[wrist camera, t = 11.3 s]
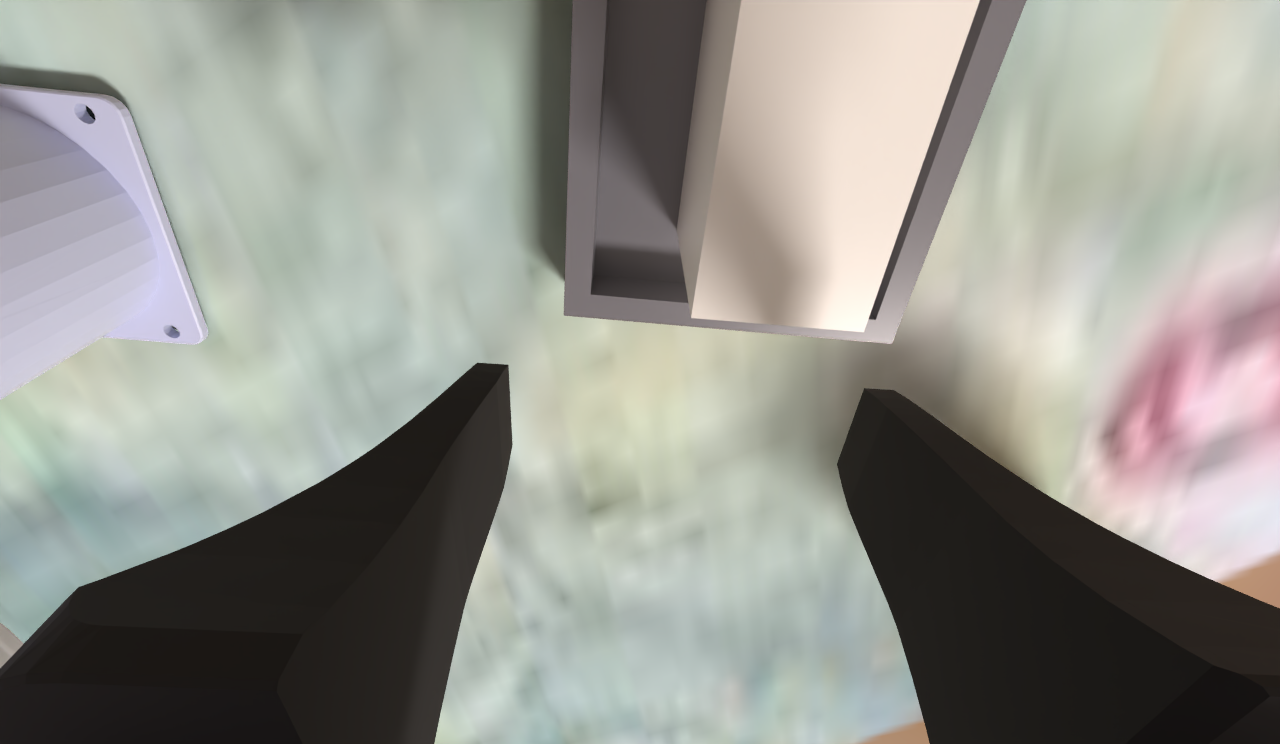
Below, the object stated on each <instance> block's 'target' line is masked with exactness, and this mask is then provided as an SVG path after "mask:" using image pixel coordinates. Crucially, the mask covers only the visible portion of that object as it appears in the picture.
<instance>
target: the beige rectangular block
mask: <svg viewBox="0 0 1280 744" xmlns="http://www.w3.org/2000/svg"><path fill="white" fill-rule="evenodd" d="M979 1H980V0H707V2H706V9H705V17H704V24H703V32H702V40H701V47H700V55H699V63H698V70H697V78H696V86H695V93H694V101H693V109H692V116H691V124H690V132H689V139H688V147H687V154H686V162H685V170H684V177H683V185H682V193H681V200H680V208H679V216H678V223H677V235H678V241H679V247H680V253H681V260H682V266H683V272H684V278H685V284H686V290H687V297H688V303H689V309H690V315H691V318H697V319H709V320H722V321H734V322H746V323H758V324H770V325H782V326H794V327H806V328H818V329H830V330H842V331H854V332H864V330H865V328H866V325H867V322H868V319H869V316H870V313H871V310H872V308H873V305H874V302H875V299H876V296H877V293H878V290H879V287H880V285H881V282H882V279H883V276H884V273H885V270H886V267H887V265H888V262H889V259H890V256H891V253H892V250H893V247H894V245H895V242H896V239H897V236H898V233H899V230H900V227H901V225H902V222H903V219H904V216H905V213H906V210H907V207H908V205H909V202H910V199H911V196H912V193H913V190H914V187H915V184H916V182H917V179H918V176H919V173H920V170H921V167H922V164H923V162H924V159H925V156H926V153H927V150H928V147H929V144H930V142H931V139H932V136H933V133H934V130H935V127H936V124H937V122H938V119H939V116H940V113H941V110H942V107H943V104H944V101H945V99H946V96H947V93H948V90H949V87H950V84H951V81H952V79H953V76H954V73H955V70H956V67H957V64H958V61H959V59H960V56H961V53H962V50H963V47H964V44H965V41H966V39H967V36H968V33H969V30H970V27H971V24H972V21H973V18H974V16H975V13H976V10H977V7H978V4H979Z"/></svg>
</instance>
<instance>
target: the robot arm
mask: <svg viewBox="0 0 1280 744" xmlns="http://www.w3.org/2000/svg"><path fill="white" fill-rule="evenodd" d="M86 106H88V107H89V108H90V109H91V110H92V111H93V113H94V114H95V120H94V119H93V118H92V117H90V116H89V114H88V112H87V111H86ZM172 326H174V327H175V328H177V329H178V331H179V332H178V331H176V330H175V329H174V328H173V327H172ZM207 336H208V328H207V326H206V323H205V320H204V317H203V314H202V312H201V309H200V306H199V303H198V300H197V298H196V295H195V292H194V289H193V287H192V284H191V281H190V278H189V275H188V273H187V270H186V267H185V264H184V261H183V259H182V256H181V253H180V250H179V247H178V245H177V242H176V239H175V236H174V233H173V231H172V228H171V225H170V222H169V220H168V217H167V214H166V211H165V208H164V206H163V203H162V200H161V197H160V194H159V192H158V189H157V186H156V183H155V180H154V178H153V175H152V172H151V169H150V167H149V164H148V161H147V158H146V155H145V153H144V150H143V147H142V144H141V141H140V139H139V136H138V133H137V130H136V127H135V125H134V122H133V119H132V116H131V114H130V112H129V111H128V109H127V107H126V106H125V105H124V104H123V103H122V102H121V101H119V100H118V99H116V98H115V97H112V96H109V95H105V94H95V93H85V92H76V91H66V90H56V89H47V88H37V87H27V86H17V85H8V84H0V400H1V399H2V398H4V397H6V396H7V395H9V394H11V393H12V392H14V391H15V390H17V389H19V388H20V387H22V386H24V385H25V384H27V383H28V382H30V381H32V380H33V379H35V378H37V377H38V376H40V375H41V374H43V373H45V372H46V371H48V370H50V369H51V368H53V367H54V366H56V365H58V364H59V363H61V362H62V361H64V360H66V359H67V358H69V357H71V356H72V355H74V354H75V353H77V352H79V351H80V350H82V349H84V348H85V347H87V346H88V345H90V344H92V343H93V342H95V341H97V340H98V339H100V338H101V337H106V338H118V339H131V340H143V341H155V342H167V343H180V344H198V343H200V342H202V341H203V340H204V339H206V338H207ZM511 449H512V428H511V409H510V389H509V370H508V365H502V364H487V363H477V364H475V365H474V366H473V367H472V368H471V369H469V370H468V371H467V372H466V373H465V374H464V375H462V376H461V377H460V378H459V379H458V380H457V381H456V382H455V383H453V384H452V385H451V386H450V387H449V388H448V389H447V390H446V391H444V392H443V393H442V394H441V395H440V396H439V397H438V398H436V399H435V400H434V401H433V402H432V403H431V404H429V405H428V406H427V407H426V408H425V409H423V410H422V411H421V412H420V413H419V414H417V415H416V416H415V417H414V418H413V419H411V420H410V421H409V422H408V423H406V424H405V425H404V426H402V427H401V428H400V429H398V430H397V431H396V432H395V433H393V434H392V435H391V436H389V437H388V438H387V439H385V440H384V441H383V442H381V443H380V444H379V445H377V446H376V447H374V448H373V449H372V450H370V451H369V452H367V453H366V454H364V455H363V456H361V457H360V458H358V459H357V460H355V461H354V462H352V463H350V464H349V465H347V466H346V467H344V468H342V469H341V470H339V471H338V472H336V473H334V474H333V475H331V476H329V477H328V478H326V479H324V480H323V481H321V482H319V483H317V484H316V485H314V486H312V487H310V488H308V489H306V490H304V491H302V492H301V493H299V494H297V495H295V496H293V497H291V498H289V499H287V500H286V501H284V502H282V503H280V504H278V505H276V506H274V507H272V508H270V509H269V510H267V511H265V512H263V513H261V514H259V515H257V516H254V517H252V518H250V519H248V520H246V521H244V522H242V523H239V524H237V525H235V526H233V527H231V528H229V529H227V530H224V531H222V532H220V533H217V534H215V535H213V536H210V537H208V538H206V539H204V540H201V541H199V542H197V543H194V544H192V545H190V546H187V547H185V548H182V549H180V550H177V551H175V552H172V553H170V554H167V555H165V556H162V557H159V558H157V559H154V560H151V561H149V562H146V563H143V564H141V565H138V566H135V567H133V568H130V569H127V570H125V571H122V572H119V573H117V574H114V575H111V576H109V577H106V578H103V579H101V580H98V581H95V582H92V583H89V584H87V585H84V586H81V587H78V588H77V589H76V590H75V591H74V592H73V593H72V594H71V595H70V596H69V597H68V598H67V599H66V600H65V601H64V602H63V603H62V605H61V606H60V607H59V608H58V609H57V610H56V611H55V612H54V613H53V614H52V615H51V616H50V617H49V618H48V619H47V620H46V621H45V622H44V623H43V624H42V625H41V626H40V627H39V628H38V630H37V631H36V632H35V633H34V634H33V635H32V636H31V637H30V638H29V639H28V640H27V641H26V642H25V643H24V644H23V645H22V646H21V647H20V648H19V649H18V650H17V651H16V652H15V653H14V654H13V656H12V657H11V658H10V659H9V660H8V661H7V662H6V663H5V664H4V665H3V666H2V667H1V668H0V744H434V742H435V737H436V732H437V727H438V722H439V717H440V712H441V708H442V703H443V699H444V694H445V689H446V685H447V680H448V676H449V671H450V666H451V662H452V657H453V653H454V649H455V644H456V640H457V636H458V631H459V627H460V623H461V619H462V614H463V610H464V606H465V603H466V599H467V596H468V593H469V589H470V586H471V583H472V580H473V577H474V574H475V571H476V568H477V565H478V562H479V559H480V557H481V554H482V551H483V548H484V545H485V542H486V539H487V536H488V533H489V530H490V527H491V524H492V522H493V519H494V516H495V513H496V510H497V507H498V504H499V501H500V498H501V495H502V492H503V489H504V484H505V479H506V475H507V470H508V465H509V460H510V454H511ZM837 466H838V470H839V474H840V479H841V483H842V487H843V491H844V494H845V498H846V502H847V505H848V508H849V511H850V514H851V516H852V519H853V521H854V523H855V526H856V528H857V531H858V533H859V536H860V538H861V540H862V543H863V545H864V548H865V550H866V552H867V555H868V557H869V559H870V562H871V564H872V566H873V569H874V571H875V574H876V576H877V578H878V581H879V583H880V585H881V588H882V590H883V593H884V595H885V597H886V600H887V602H888V604H889V607H890V610H891V612H892V615H893V618H894V620H895V623H896V626H897V629H898V632H899V635H900V638H901V642H902V645H903V648H904V652H905V655H906V658H907V662H908V665H909V668H910V672H911V675H912V678H913V682H914V686H915V689H916V693H917V697H918V700H919V704H920V708H921V712H922V715H923V719H924V723H925V726H926V730H927V734H928V738H929V743H930V744H1280V608H1277V607H1274V606H1272V605H1270V604H1267V603H1265V602H1262V601H1259V600H1257V599H1255V598H1253V597H1250V596H1248V595H1246V594H1243V593H1241V592H1239V591H1236V590H1234V589H1232V588H1229V587H1227V586H1225V585H1222V584H1220V583H1218V582H1215V581H1213V580H1211V579H1208V578H1206V577H1204V576H1202V575H1199V574H1197V573H1195V572H1193V571H1191V570H1188V569H1186V568H1184V567H1182V566H1180V565H1177V564H1175V563H1173V562H1171V561H1169V560H1167V559H1165V558H1163V557H1161V556H1159V555H1157V554H1155V553H1153V552H1151V551H1149V550H1147V549H1145V548H1143V547H1141V546H1139V545H1137V544H1135V543H1132V542H1130V541H1128V540H1126V539H1124V538H1122V537H1121V536H1119V535H1117V534H1115V533H1113V532H1111V531H1109V530H1107V529H1105V528H1103V527H1102V526H1100V525H1098V524H1096V523H1094V522H1093V521H1091V520H1089V519H1087V518H1086V517H1084V516H1082V515H1080V514H1079V513H1077V512H1075V511H1073V510H1072V509H1070V508H1068V507H1066V506H1065V505H1063V504H1061V503H1059V502H1058V501H1056V500H1054V499H1053V498H1051V497H1049V496H1048V495H1046V494H1044V493H1043V492H1041V491H1040V490H1038V489H1036V488H1035V487H1033V486H1032V485H1030V484H1029V483H1027V482H1026V481H1024V480H1023V479H1021V478H1020V477H1018V476H1016V475H1015V474H1013V473H1012V472H1010V471H1009V470H1007V469H1006V468H1004V467H1003V466H1001V465H1000V464H998V463H997V462H995V461H994V460H993V459H991V458H990V457H988V456H987V455H985V454H984V453H983V452H981V451H980V450H978V449H977V448H975V447H974V446H973V445H971V444H970V443H968V442H967V441H966V440H964V439H963V438H962V437H960V436H959V435H957V434H956V433H955V432H953V431H952V430H951V429H949V428H948V427H946V426H945V425H944V424H942V423H941V422H940V421H938V420H937V419H935V418H934V417H933V416H931V415H930V414H928V413H927V412H926V411H924V410H923V409H921V408H920V407H919V406H917V405H916V404H914V403H913V402H911V401H910V400H908V399H907V398H905V397H904V396H902V395H901V394H899V393H897V392H896V391H894V390H880V389H865V388H864V391H863V393H862V396H861V399H860V402H859V405H858V407H857V410H856V413H855V416H854V418H853V421H852V424H851V427H850V430H849V432H848V435H847V438H846V441H845V443H844V446H843V449H842V452H841V455H840V457H839V460H838V463H837Z"/></svg>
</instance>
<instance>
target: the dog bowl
mask: <svg viewBox="0 0 1280 744" xmlns="http://www.w3.org/2000/svg"><path fill="white" fill-rule="evenodd" d="M22 645H23V643H22V642H21V641H20V639H19V638H17V637H16V636H15V635H14V634H13V633H12V632H11V631H10V630H9V629H8V628H6V627H5V626H4V625H3V624H1V623H0V668H1V667H2V666H3V665H4V664H5V663H6V662H7V661H8V660H9V659H10V658H11V657H12V656H13V654H14V653H15V652H16V651H17V650H18V649H19V648H20V647H21V646H22Z"/></svg>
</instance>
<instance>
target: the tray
mask: <svg viewBox="0 0 1280 744" xmlns="http://www.w3.org/2000/svg"><path fill="white" fill-rule="evenodd" d="M706 2H707V0H573V7H572V43H571V78H570V114H569V150H568V185H567V221H566V257H565V292H564V315H565V316H576V317H588V318H599V319H611V320H622V321H634V322H645V323H657V324H668V325H679V326H691V327H702V328H714V329H725V330H737V331H748V332H760V333H771V334H783V335H794V336H806V337H817V338H829V339H840V340H852V341H863V342H875V343H886V344H892V343H893V340H894V337H895V335H896V332H897V330H898V327H899V325H900V322H901V320H902V317H903V314H904V312H905V309H906V307H907V304H908V302H909V299H910V296H911V294H912V291H913V289H914V286H915V284H916V281H917V279H918V276H919V273H920V271H921V268H922V266H923V263H924V261H925V258H926V256H927V253H928V250H929V248H930V245H931V243H932V240H933V238H934V235H935V233H936V230H937V227H938V225H939V222H940V220H941V217H942V215H943V212H944V210H945V207H946V204H947V202H948V199H949V197H950V194H951V192H952V189H953V187H954V184H955V181H956V179H957V176H958V174H959V171H960V169H961V166H962V164H963V161H964V158H965V156H966V153H967V151H968V148H969V146H970V143H971V141H972V138H973V135H974V133H975V130H976V128H977V125H978V123H979V120H980V118H981V115H982V112H983V110H984V107H985V105H986V102H987V100H988V97H989V95H990V92H991V89H992V87H993V84H994V82H995V79H996V77H997V74H998V72H999V69H1000V66H1001V64H1002V61H1003V59H1004V56H1005V54H1006V51H1007V49H1008V46H1009V43H1010V41H1011V38H1012V36H1013V33H1014V31H1015V28H1016V26H1017V23H1018V20H1019V18H1020V15H1021V13H1022V10H1023V8H1024V5H1025V3H1026V0H980V1H979V4H978V7H977V10H976V13H975V16H974V18H973V21H972V24H971V27H970V30H969V33H968V36H967V39H966V41H965V44H964V47H963V50H962V53H961V56H960V59H959V61H958V64H957V67H956V70H955V73H954V76H953V79H952V81H951V84H950V87H949V90H948V93H947V96H946V99H945V101H944V104H943V107H942V110H941V113H940V116H939V119H938V122H937V124H936V127H935V130H934V133H933V136H932V139H931V142H930V144H929V147H928V150H927V153H926V156H925V159H924V162H923V164H922V167H921V170H920V173H919V176H918V179H917V182H916V184H915V187H914V190H913V193H912V196H911V199H910V202H909V205H908V207H907V210H906V213H905V216H904V219H903V222H902V225H901V227H900V230H899V233H898V236H897V239H896V242H895V245H894V247H893V250H892V253H891V256H890V259H889V262H888V265H887V267H886V270H885V273H884V276H883V279H882V282H881V285H880V287H879V290H878V293H877V296H876V299H875V302H874V305H873V308H872V310H871V313H870V316H869V319H868V322H867V325H866V328H865V330H864V332H854V331H842V330H830V329H818V328H806V327H794V326H782V325H770V324H758V323H746V322H734V321H722V320H709V319H697V318H691V315H690V309H689V303H688V297H687V290H686V284H685V278H684V272H683V266H682V260H681V253H680V247H679V241H678V235H677V223H678V216H679V208H680V200H681V193H682V185H683V177H684V170H685V162H686V154H687V147H688V139H689V132H690V124H691V116H692V109H693V101H694V93H695V86H696V78H697V70H698V63H699V55H700V47H701V40H702V32H703V24H704V17H705V9H706Z"/></svg>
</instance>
